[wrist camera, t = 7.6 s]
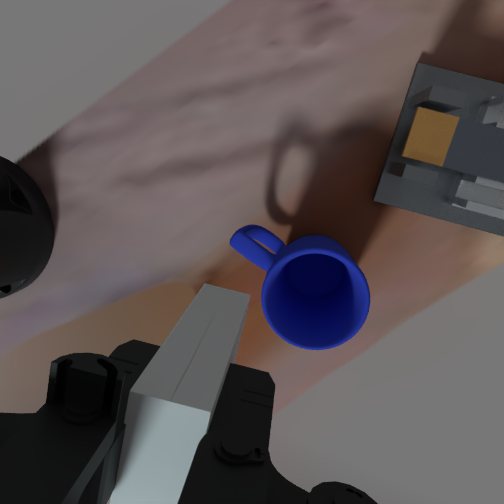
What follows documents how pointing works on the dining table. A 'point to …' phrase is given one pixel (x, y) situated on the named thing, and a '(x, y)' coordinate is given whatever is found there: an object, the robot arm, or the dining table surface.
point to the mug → (307, 287)
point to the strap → (456, 144)
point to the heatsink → (436, 177)
